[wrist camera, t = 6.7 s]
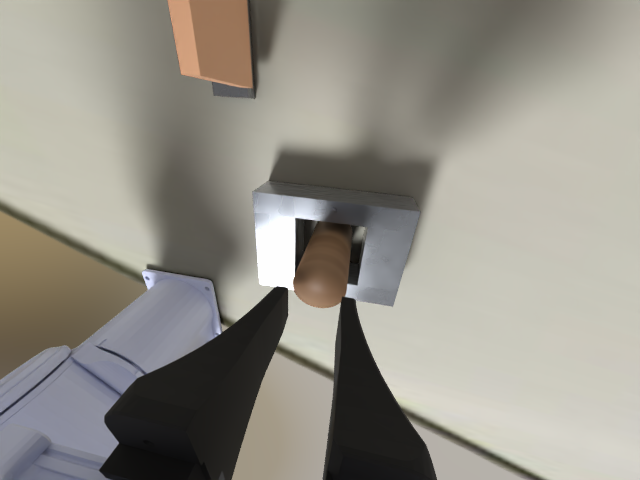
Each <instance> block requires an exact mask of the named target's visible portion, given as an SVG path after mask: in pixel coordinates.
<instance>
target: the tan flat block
mask: <svg viewBox="0 0 640 480" xmlns="http://www.w3.org/2000/svg"><path fill="white" fill-rule="evenodd" d="M168 5H169V11H170V16H171V22H172V27H173V33H174V38H175V44H176V49H177V55H178V60H179V65H180V71H181V75H186V76H190V77H195V78H199V79H204V80H208V81H213V82H217V83H222V84H226V85H231V86H236V87H240V88H253V85H252V69H251V53H250V37H249V21H248V6H247V0H168Z"/></svg>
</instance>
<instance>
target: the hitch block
mask: <svg viewBox="0 0 640 480" xmlns="http://www.w3.org/2000/svg"><path fill="white" fill-rule="evenodd" d="M253 205H254V218H255V231H256V244H257V257H258V270H259V283H260V284H261V285H267V286H273V287H276V286H283V287H288V289H291V290H294V289H293V284H292V283H293V278H294V275H295V273H296V271H297V268H298V266H299V264H300V261H301V259H302V257H303V246H304V219H309V220H317V221H324V222H332V223H340V224H347V225H355V226H363V227H365V229H364V235H363V241H362V247H361V252H360V258H359V264H356V263H350V264H349V273H348V283H347V292H346V295H345V297H348V298H354V299H355V300H357V301H363V302H369V303H375V304H381V305H387V306H392V307H393V305H394V301H395V298H396V295H397V291H398V288H399V284H400V281H401V277H402V274H403V271H404V267H405V264H406V260H407V257H408V253H409V250H410V246H411V243H412V240H413V236H414V233H415V229H416V226H417V222H418V219H419V216H420V210H419V208H418V206H417V204H416V203H415V201H414V199H413V197H409V196H400V195H391V194H382V193H373V192H365V191H356V190H347V189H338V188H329V187H320V186H311V185H302V184H293V183H285V182H276V181H267V182H266V183H264V184H263V185H261V186H260V187H259V188H257V189H256V190H254V191H253Z"/></svg>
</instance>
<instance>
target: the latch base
mask: <svg viewBox="0 0 640 480" xmlns="http://www.w3.org/2000/svg"><path fill="white" fill-rule="evenodd" d="M247 6H248V21H249V37H250V53H251V69H252V85H253V88H240V87H236V86H231V85H226V84H222V83H217V82H213V81H212V85H213V93H214V96H222V97H236V98H251V99H255V89H254V72H253V56H252V39H251V22H250V6H249V0H247Z"/></svg>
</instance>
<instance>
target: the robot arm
mask: <svg viewBox="0 0 640 480" xmlns="http://www.w3.org/2000/svg"><path fill="white" fill-rule="evenodd" d="M142 275H143V277H144V280H145V283H146V285H147V288H148V291H146V292H145V293H144V294H142V295H141V296H140V297H139V298H137V299H136V300H135V301H134V302H132V303H131V304H130V305H129V306H128V307H126V308H125V309H124V310H123V311H121V312H120V313H119V314H118V315H116V317H114V318H113V319H112V320H110V321H109V322H108V323H107V324H105V325H104V326H103V327H102V328H101V329H99V330H98V331H97V332H96V333H94V334H93V335H92V336H91V337H89V338H88V339H87V340H86V341H84V342H83V343H82V344H81V345H79V346H78V347H77V348H74V349H72V350H71V349H70V348H69V347H68V346H61V347H54V348H48V349H46V350H44V351H43V352H41V353H39V354H38V355H36V356H35V357H33V358H31V359H30V360H29V361H27V362H25V363H24V364H23V365H21V366H20V367H18V368H17V369H15V370H14V371H12V372H11V373H9V374H8V375H7V376H5V377H4V378H2V379H1V380H0V480H231V479H232V476H233V472H234V469H235V465H236V462H237V458H238V455H239V452H240V448H241V445H242V442H243V438H244V435H245V432H246V428H247V425H248V422H249V419H250V416H251V413H252V409H253V406H254V403H255V400H256V397H257V394H258V391H259V388H260V385H261V382H262V380H263V377H264V375H265V372H266V370H267V368H268V365H269V363H270V361H271V359H272V356H273V354H274V352H275V350H276V347H277V345H278V343H279V340H280V338H281V336H282V333H283V330H284V327H285V324H286V320H287V317H288V287H283V286H276V287H274V288H273V290H272V291H271V292H269V293H268V294H267V295H266V296H265V297H264V298H263V299H262V300H261V301H260V302H259V303H258V304H257V305H256V306H255V307H254V308H252V309H251V310H250V311H249V312H248V313H247V314H246V315H244V316H243V317H242V318H241V319H239V320H238V321H237V322H236V323H235V324H233V325H232V326H231V327H229V328H228V329H226V330H225V331H224V332H222V327H221V322H220V317H219V312H218V307H217V302H216V297H215V292H214V287H213V283H212V281H211V280H208V279H203V278H197V277H191V276H185V275H180V274H174V273H168V272H162V271H156V270H150V269H145V270H144V271H142ZM323 480H437V477H436V474H435V471H434V467H433V463H432V460H431V457H430V454H429V451H428V449H427V446H426V444H425V443H424V441H423V440H422V439H421V437H420V436H419V434H418V433H417V431H416V430H415V429H414V427H413V426H412V424H411V423H410V421H409V420H408V418H407V417H406V415H405V414H404V412H403V411H402V409H401V408H400V406H399V404H398V403H397V401H396V399H395V398H394V396H393V394H392V393H391V391H390V389H389V388H388V386H387V384H386V382H385V381H384V379H383V377H382V375H381V373H380V371H379V369H378V367H377V365H376V363H375V361H374V358H373V356H372V354H371V352H370V349H369V347H368V344H367V342H366V339H365V336H364V333H363V330H362V327H361V324H360V321H359V317H358V313H357V308H356V300H355V299H354V298H348V297H342V300H341V307H340V314H339V320H338V328H337V335H336V342H335V365H334V388H333V400H332V409H331V417H330V425H329V433H328V441H327V449H326V457H325V465H324V473H323Z"/></svg>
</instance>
